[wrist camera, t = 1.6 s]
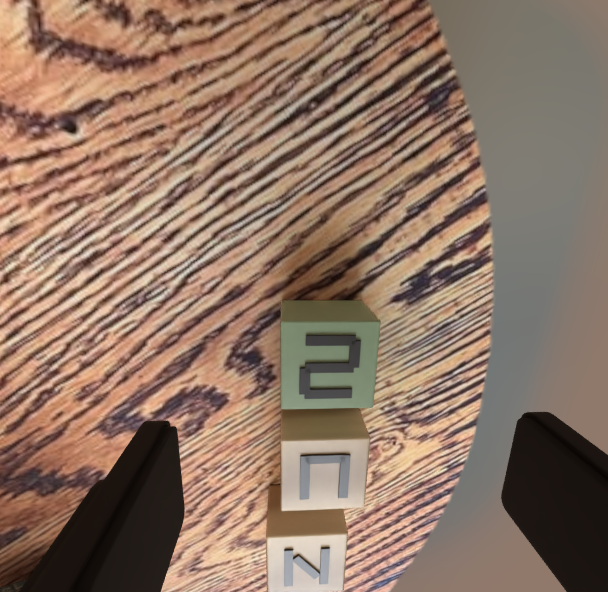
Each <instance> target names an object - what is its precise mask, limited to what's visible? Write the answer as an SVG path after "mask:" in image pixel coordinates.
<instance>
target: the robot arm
mask: <svg viewBox="0 0 608 592" xmlns="http://www.w3.org/2000/svg"><path fill="white" fill-rule="evenodd" d="M501 498H502V503H503V506H504V508H505V510H506V511H507V513H508V514H509V515H510V517H511V518H512V519H513V520H514V522H515V523H516V525H517V526H518V527H519V529H520V530H521V531H522V533H523V534H524V535H525V537H526V538H527V539H528V540H529V542H530V543H531V545H532V546H533V547H534V549H535V550H536V551H537V553H538V554H539V555H540V557H541V558H542V559H543V560H544V562H545V563H546V565H547V566H548V567H549V569H550V570H551V571H552V573H553V574H554V575H555V577H556V578H557V579H558V581H559V582H560V583H561V585H562V586H563V587H564V589H565V590H566V591H567V592H608V455H607V454H605V453H604V452H603V451H601V450H600V449H599V448H598V447H596V446H595V445H593V444H592V443H591V442H589V441H588V440H587V439H585V438H584V437H583V436H581V435H580V434H579V433H577V432H576V431H575V430H573V429H572V428H571V427H569V426H568V425H566V424H565V423H564V422H562V421H561V420H560V419H558V418H557V417H556V416H554V415H553V414H551V413H549V412H527V413H524V414H523V415H522V417H521V418H520V419H519V420H518V421H517V425H516V430H515V434H514V439H513V443H512V448H511V453H510V457H509V462H508V467H507V471H506V476H505V481H504V485H503V490H502V497H501ZM183 519H184V497H183V487H182V476H181V466H180V455H179V445H178V434H177V428H176V427H175V426H172V427H170V423H169V421H145V422H144V423H143V424H142V425H141V426H140V428H139V429H138V431H137V432H136V434H135V435H134V437H133V438H132V440H131V441H130V443H129V444H128V446H127V447H126V449H125V450H124V452H123V453H122V454H121V456H120V457H119V459H118V460H117V462H116V463H115V465H114V466H113V468H112V469H111V471H110V472H109V474H108V475H107V477H106V478H105V480H100V481H98V482H97V483H96V484H95V485H94V486H93V487H92V488H91V490H90V491H89V492H88V494H87V495H86V497H85V498H84V499H83V501H82V502H81V504H80V505H79V507H78V508H77V509H76V511H75V512H74V514H73V515H72V517H71V518H70V519H69V521H68V522H67V524H66V525H65V527H64V528H63V529H62V531H61V532H60V534H59V535H58V537H57V538H56V539H55V541H54V542H53V544H52V545H51V546H50V548H49V549H48V551H47V552H46V554H45V555H44V556H43V558H42V559H41V561H40V562H39V564H38V565H37V566H36V568H35V569H34V571H33V572H32V574H31V575H30V576H29V578H28V579H27V581H26V582H25V584H24V585H23V586H22V588H21V589H20V591H19V592H161V589H162V586H163V583H164V580H165V577H166V573H167V570H168V567H169V564H170V561H171V558H172V555H173V552H174V549H175V546H176V543H177V540H178V537H179V534H180V531H181V527H182V524H183Z"/></svg>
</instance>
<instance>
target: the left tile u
mask: <svg viewBox="0 0 608 592" xmlns="http://www.w3.org/2000/svg"><path fill="white" fill-rule="evenodd" d="M369 447H370V436H369V433H368V431H367V428H366V425H365V423H364V420H363V417H362V415H361V412H360V409H359V408H328V409H281V511H300V510H325V509H350V508H364V504H365V492H366V481H367V470H368V458H369Z"/></svg>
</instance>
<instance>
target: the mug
mask: <svg viewBox="0 0 608 592" xmlns="http://www.w3.org/2000/svg"><path fill="white" fill-rule="evenodd" d="M26 581H27V580H25V581H21V582H17V583H15V584H12V585H6V586H5V587H0V592H19V591H20V589H21V588H22V586H23V585H24V584H25V582H26Z"/></svg>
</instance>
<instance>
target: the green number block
mask: <svg viewBox="0 0 608 592" xmlns="http://www.w3.org/2000/svg"><path fill="white" fill-rule="evenodd" d="M380 323H381V322H380V320H379V319H378V318H377V317H376V315H375V314H374V313H373V312H372V311H371V310H370V308H369V307H368V306H367V305H366V304H365V303H364V301H362V300H283V301H281V322H280V348H281V409H328V408H372V407H373V402H374V391H375V379H376V368H377V357H378V346H379V334H380Z"/></svg>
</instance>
